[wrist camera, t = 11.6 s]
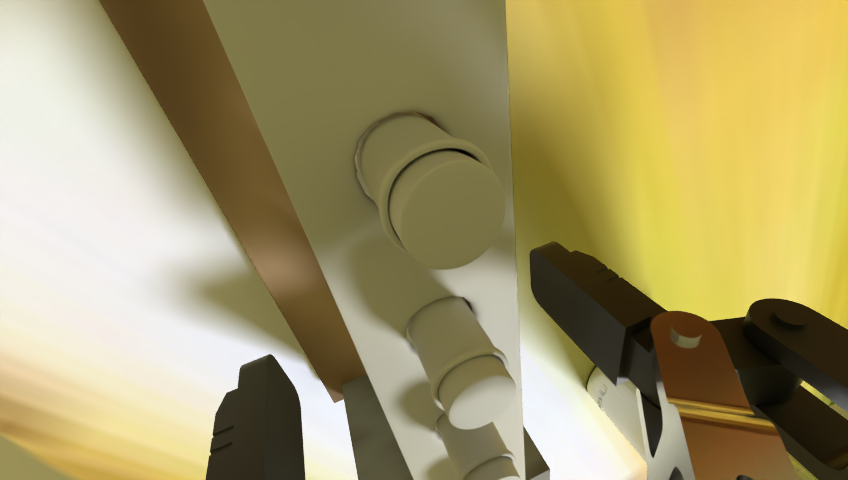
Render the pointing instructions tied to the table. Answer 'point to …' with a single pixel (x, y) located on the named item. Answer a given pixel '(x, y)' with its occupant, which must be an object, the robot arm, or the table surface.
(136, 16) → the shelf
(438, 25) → the long lego plate
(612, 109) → the table surface
